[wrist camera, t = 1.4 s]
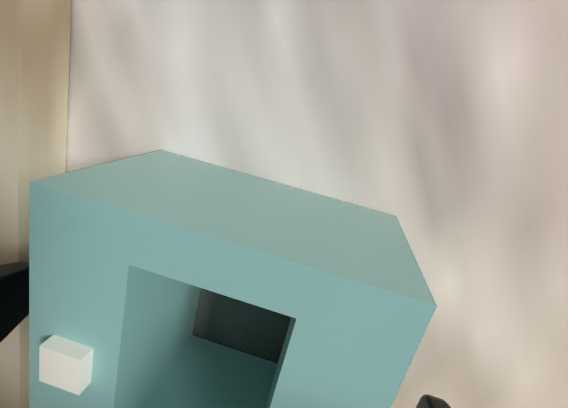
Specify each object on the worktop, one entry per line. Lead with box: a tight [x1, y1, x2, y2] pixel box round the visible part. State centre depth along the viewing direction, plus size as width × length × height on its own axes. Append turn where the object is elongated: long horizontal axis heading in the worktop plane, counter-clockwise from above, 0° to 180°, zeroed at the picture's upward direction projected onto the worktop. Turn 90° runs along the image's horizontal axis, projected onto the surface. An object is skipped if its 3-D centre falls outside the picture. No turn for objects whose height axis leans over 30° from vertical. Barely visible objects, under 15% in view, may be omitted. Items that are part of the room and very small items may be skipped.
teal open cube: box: [29, 150, 437, 408], centre depth 8 cm, size 6×6×4 cm
